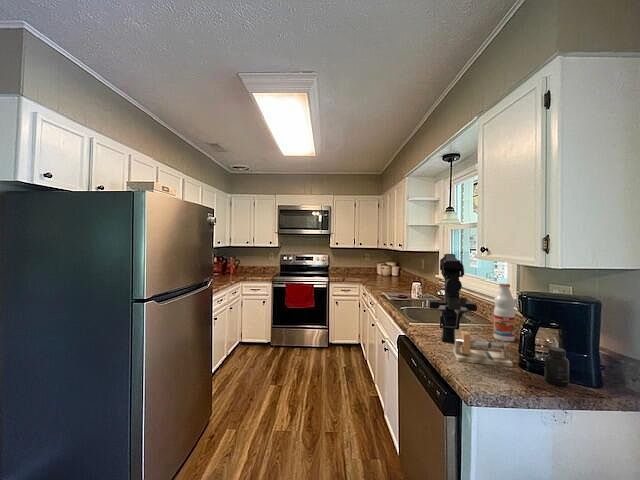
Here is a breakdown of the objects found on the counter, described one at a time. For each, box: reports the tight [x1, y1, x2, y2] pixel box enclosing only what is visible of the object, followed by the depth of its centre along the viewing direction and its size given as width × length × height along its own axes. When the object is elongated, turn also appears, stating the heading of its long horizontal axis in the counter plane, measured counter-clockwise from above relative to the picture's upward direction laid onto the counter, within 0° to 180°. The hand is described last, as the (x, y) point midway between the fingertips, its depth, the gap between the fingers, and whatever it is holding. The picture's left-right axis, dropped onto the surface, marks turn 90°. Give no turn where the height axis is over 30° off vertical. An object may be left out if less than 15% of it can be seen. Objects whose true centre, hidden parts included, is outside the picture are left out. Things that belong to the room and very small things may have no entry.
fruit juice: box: [493, 283, 516, 342], centre depth 159 cm, size 9×9×28 cm
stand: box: [452, 337, 513, 368], centre depth 131 cm, size 20×12×7 cm, turn 75°
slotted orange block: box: [460, 330, 471, 354], centre depth 132 cm, size 2×7×8 cm, turn 165°
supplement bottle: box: [543, 346, 570, 388], centre depth 108 cm, size 7×7×12 cm
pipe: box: [454, 338, 509, 350], centre depth 131 cm, size 20×3×3 cm, turn 75°
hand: (451, 325), depth 134 cm, fingers open, 4 cm apart
